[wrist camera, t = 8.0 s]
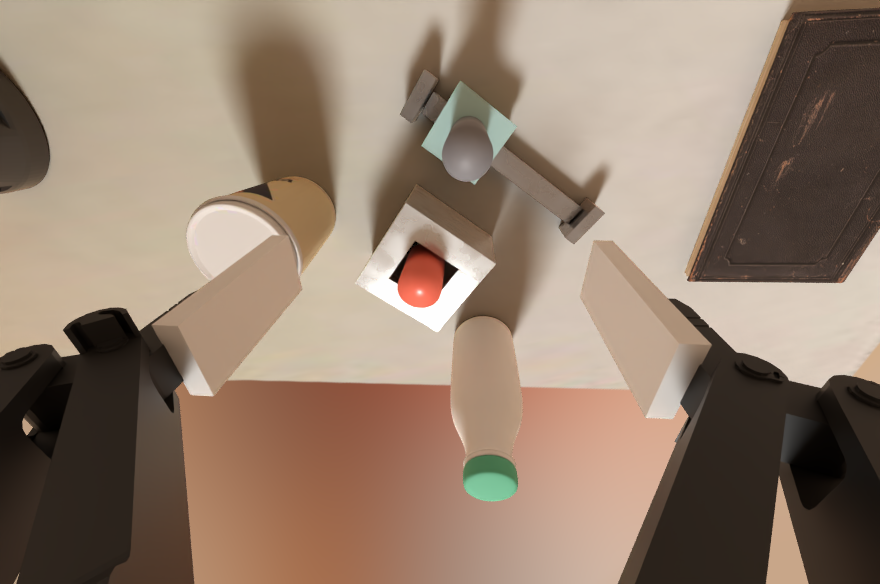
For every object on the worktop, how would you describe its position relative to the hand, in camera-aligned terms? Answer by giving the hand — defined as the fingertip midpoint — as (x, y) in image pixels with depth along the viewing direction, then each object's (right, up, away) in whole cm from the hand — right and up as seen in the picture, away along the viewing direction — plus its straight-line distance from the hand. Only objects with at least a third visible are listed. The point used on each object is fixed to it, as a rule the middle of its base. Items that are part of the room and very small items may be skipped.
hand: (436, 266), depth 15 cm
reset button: (-1, +2, +20) cm, 21 cm away
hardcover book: (+35, +11, +18) cm, 41 cm away
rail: (+7, +12, +19) cm, 23 cm away
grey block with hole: (-1, +4, +24) cm, 24 cm away
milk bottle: (+6, -7, +30) cm, 32 cm away
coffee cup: (-15, +8, +23) cm, 29 cm away
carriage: (+3, +14, +17) cm, 23 cm away
